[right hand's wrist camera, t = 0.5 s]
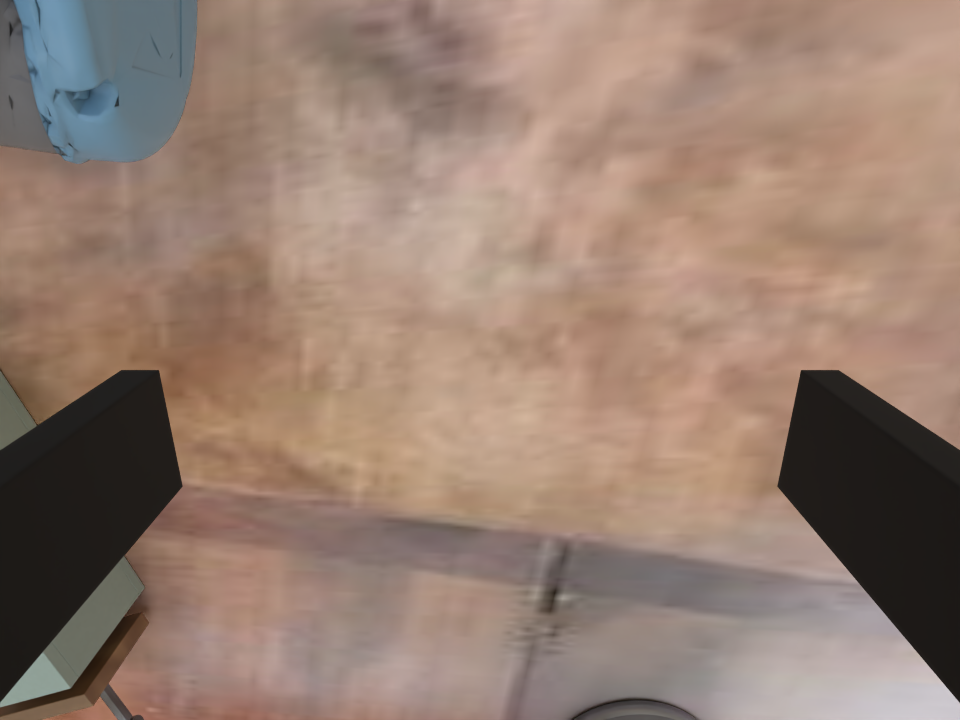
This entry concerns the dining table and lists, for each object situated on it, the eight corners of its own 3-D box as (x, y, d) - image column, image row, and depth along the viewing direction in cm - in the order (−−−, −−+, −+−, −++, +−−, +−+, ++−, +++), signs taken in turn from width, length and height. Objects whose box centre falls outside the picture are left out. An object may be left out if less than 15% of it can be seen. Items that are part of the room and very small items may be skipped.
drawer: (181, 669, 50) (132, 757, 43) (92, 693, 51) (30, 782, 44) (9, 416, 42) (-87, 473, 35) (-94, 450, 43) (-207, 513, 36)
